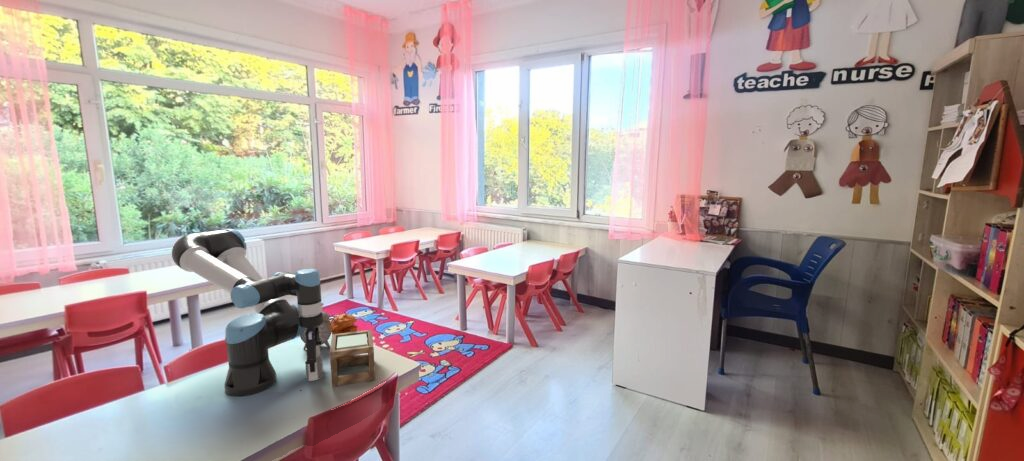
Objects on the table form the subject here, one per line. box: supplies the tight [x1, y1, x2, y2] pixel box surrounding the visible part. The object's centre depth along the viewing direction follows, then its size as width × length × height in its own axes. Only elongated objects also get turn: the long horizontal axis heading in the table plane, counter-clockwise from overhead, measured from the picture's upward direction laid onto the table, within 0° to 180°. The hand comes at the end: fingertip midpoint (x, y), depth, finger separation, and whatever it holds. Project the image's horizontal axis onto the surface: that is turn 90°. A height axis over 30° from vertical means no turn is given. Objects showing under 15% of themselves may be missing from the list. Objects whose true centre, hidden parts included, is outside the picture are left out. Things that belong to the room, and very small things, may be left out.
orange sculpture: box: [330, 311, 359, 358], centre depth 166 cm, size 11×11×18 cm
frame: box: [329, 329, 376, 388], centre depth 154 cm, size 14×16×12 cm
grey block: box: [305, 356, 324, 382], centre depth 152 cm, size 5×5×6 cm
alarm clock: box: [299, 311, 332, 351], centre depth 175 cm, size 12×7×15 cm, turn 104°
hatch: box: [337, 334, 368, 350], centre depth 154 cm, size 10×10×1 cm
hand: (315, 370), depth 152 cm, fingers open, 13 cm apart
